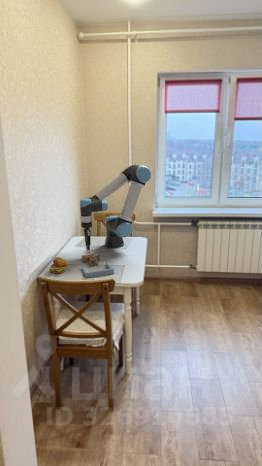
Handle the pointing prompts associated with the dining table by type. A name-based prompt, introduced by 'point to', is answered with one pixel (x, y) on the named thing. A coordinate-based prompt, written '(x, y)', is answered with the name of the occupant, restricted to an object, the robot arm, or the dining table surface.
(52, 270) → the cheeseburger
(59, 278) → the dining table surface
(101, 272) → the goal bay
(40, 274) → the dining table surface
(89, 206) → the robot arm
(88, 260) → the t block
